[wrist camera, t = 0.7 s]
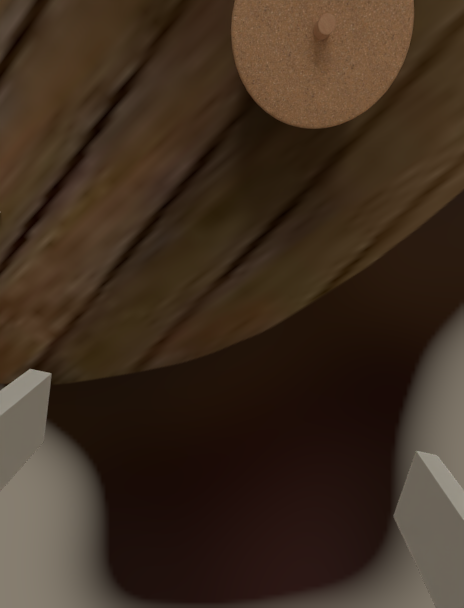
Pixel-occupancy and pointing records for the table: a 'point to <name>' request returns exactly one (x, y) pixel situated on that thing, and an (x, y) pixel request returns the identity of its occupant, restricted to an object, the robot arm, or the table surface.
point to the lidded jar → (319, 55)
